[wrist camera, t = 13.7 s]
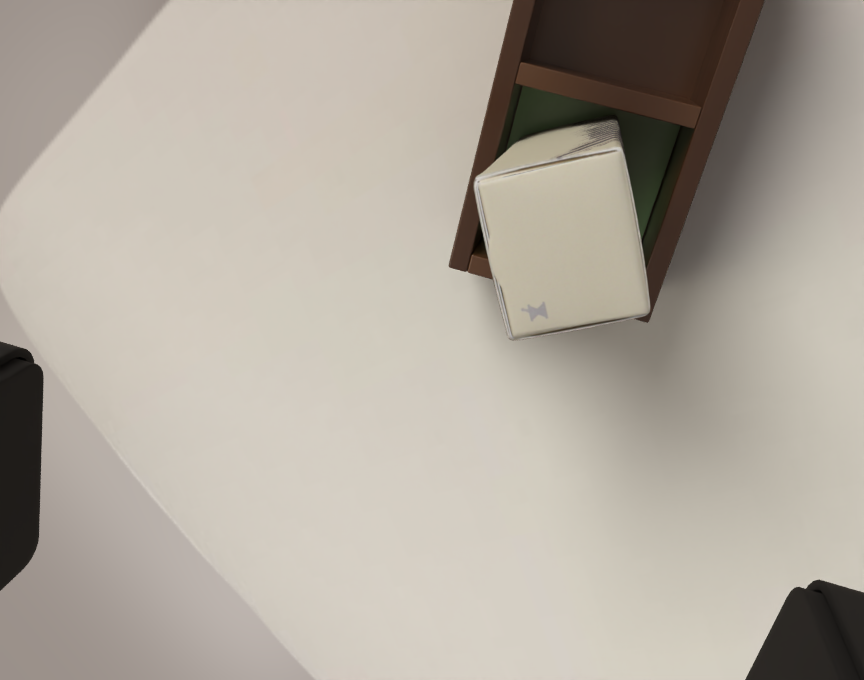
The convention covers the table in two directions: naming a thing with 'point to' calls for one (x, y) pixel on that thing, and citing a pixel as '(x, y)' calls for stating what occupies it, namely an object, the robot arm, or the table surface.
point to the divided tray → (617, 100)
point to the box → (563, 231)
